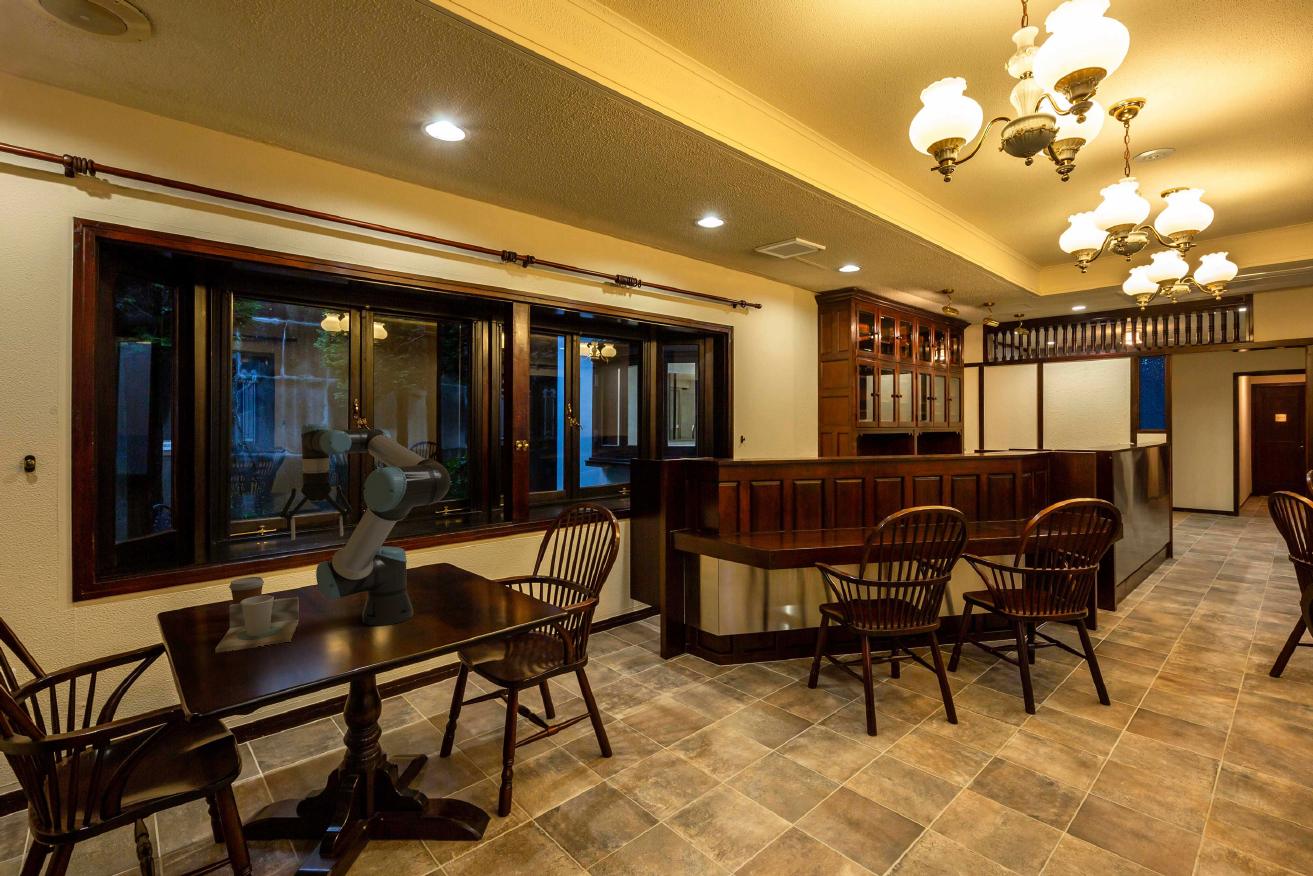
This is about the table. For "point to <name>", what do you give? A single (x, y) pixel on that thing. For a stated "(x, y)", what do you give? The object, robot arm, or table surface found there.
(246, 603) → the dixie cup
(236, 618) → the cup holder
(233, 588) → the disposable coffee cup
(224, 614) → the table surface
